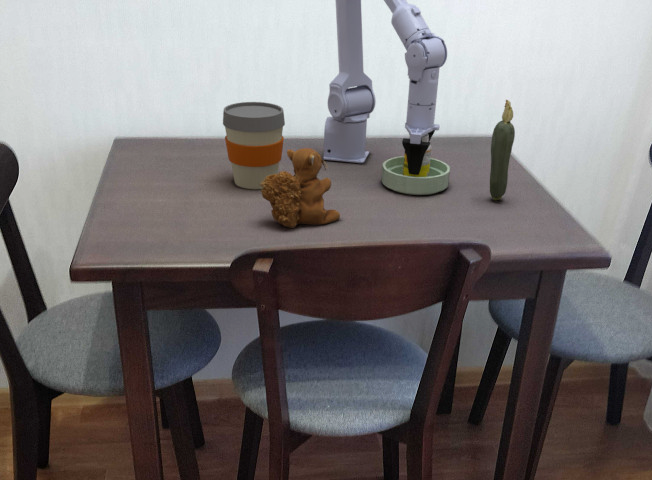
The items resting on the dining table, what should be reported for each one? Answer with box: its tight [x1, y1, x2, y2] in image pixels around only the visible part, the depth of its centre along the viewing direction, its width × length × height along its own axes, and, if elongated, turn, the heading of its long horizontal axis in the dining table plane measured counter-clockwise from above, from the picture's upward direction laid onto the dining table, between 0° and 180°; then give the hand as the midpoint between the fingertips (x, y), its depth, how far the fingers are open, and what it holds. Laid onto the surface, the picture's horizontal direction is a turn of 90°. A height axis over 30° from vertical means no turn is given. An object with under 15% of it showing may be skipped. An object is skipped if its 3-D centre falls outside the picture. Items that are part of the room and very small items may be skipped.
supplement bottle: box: [403, 134, 433, 177], centre depth 162 cm, size 6×6×10 cm
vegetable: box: [489, 99, 516, 201], centre depth 153 cm, size 4×4×20 cm
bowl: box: [381, 155, 451, 196], centre depth 164 cm, size 14×14×4 cm
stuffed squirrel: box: [259, 147, 341, 229], centre depth 143 cm, size 10×14×13 cm
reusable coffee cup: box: [222, 101, 286, 190], centre depth 159 cm, size 13×13×15 cm
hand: (416, 168), depth 163 cm, fingers open, 7 cm apart
